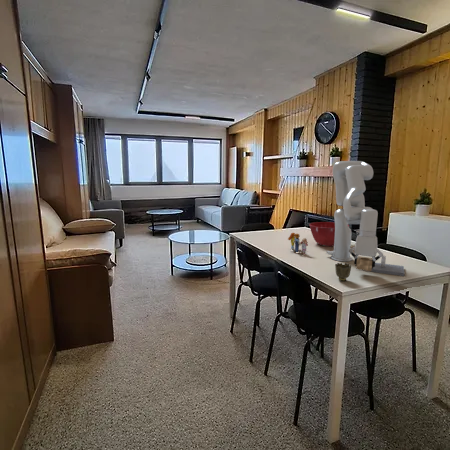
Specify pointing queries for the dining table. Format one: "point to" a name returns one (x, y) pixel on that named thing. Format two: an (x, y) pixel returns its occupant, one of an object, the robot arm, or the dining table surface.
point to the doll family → (295, 239)
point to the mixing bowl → (323, 232)
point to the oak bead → (364, 263)
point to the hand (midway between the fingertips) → (364, 266)
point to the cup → (342, 271)
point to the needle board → (388, 268)
